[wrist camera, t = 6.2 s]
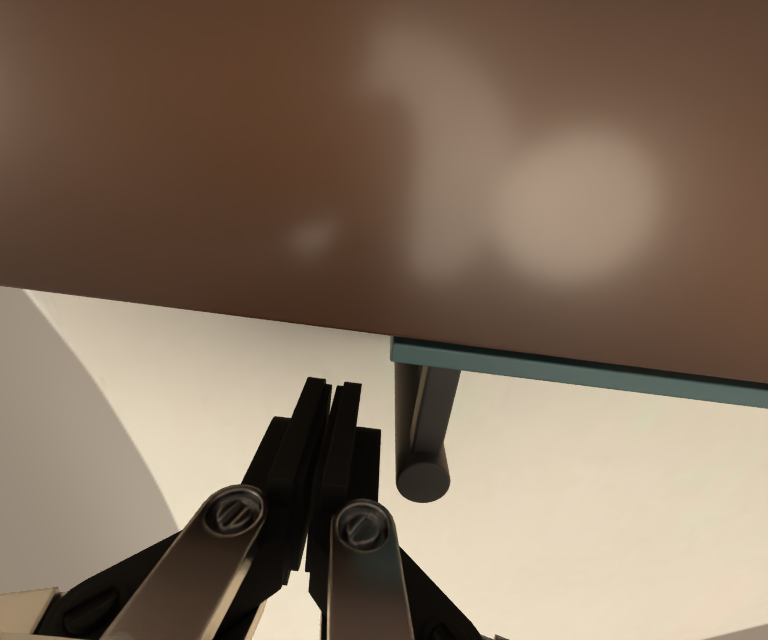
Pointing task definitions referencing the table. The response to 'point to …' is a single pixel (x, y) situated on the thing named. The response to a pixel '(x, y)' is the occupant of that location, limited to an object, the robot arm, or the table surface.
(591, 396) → the table surface
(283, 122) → the cupboard
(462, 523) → the table surface
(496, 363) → the sliding door
